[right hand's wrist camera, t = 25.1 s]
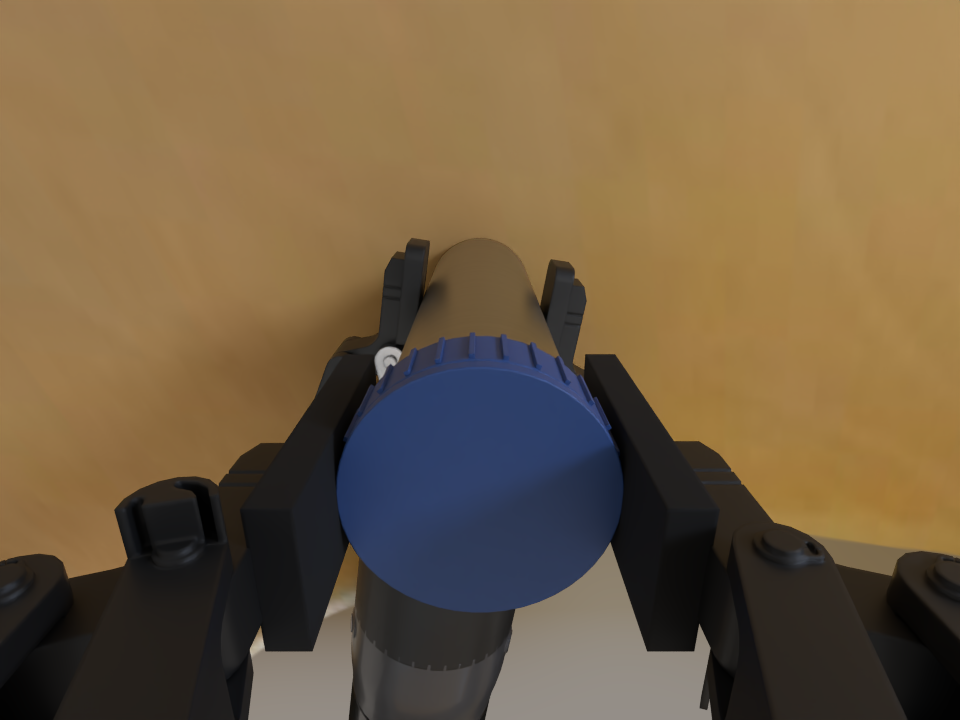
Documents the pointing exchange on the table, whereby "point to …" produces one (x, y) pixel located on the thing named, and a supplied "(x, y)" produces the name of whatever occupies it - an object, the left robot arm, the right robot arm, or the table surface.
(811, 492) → the table surface
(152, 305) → the table surface
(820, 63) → the table surface
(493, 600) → the lid
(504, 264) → the jar
